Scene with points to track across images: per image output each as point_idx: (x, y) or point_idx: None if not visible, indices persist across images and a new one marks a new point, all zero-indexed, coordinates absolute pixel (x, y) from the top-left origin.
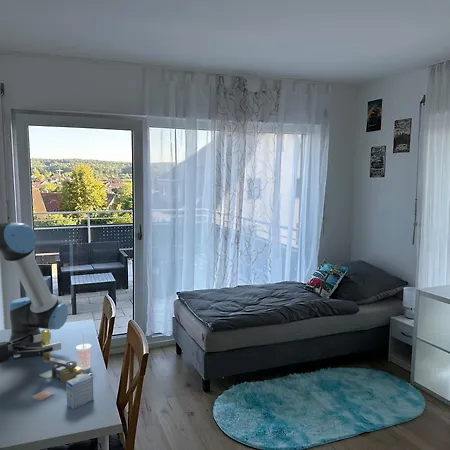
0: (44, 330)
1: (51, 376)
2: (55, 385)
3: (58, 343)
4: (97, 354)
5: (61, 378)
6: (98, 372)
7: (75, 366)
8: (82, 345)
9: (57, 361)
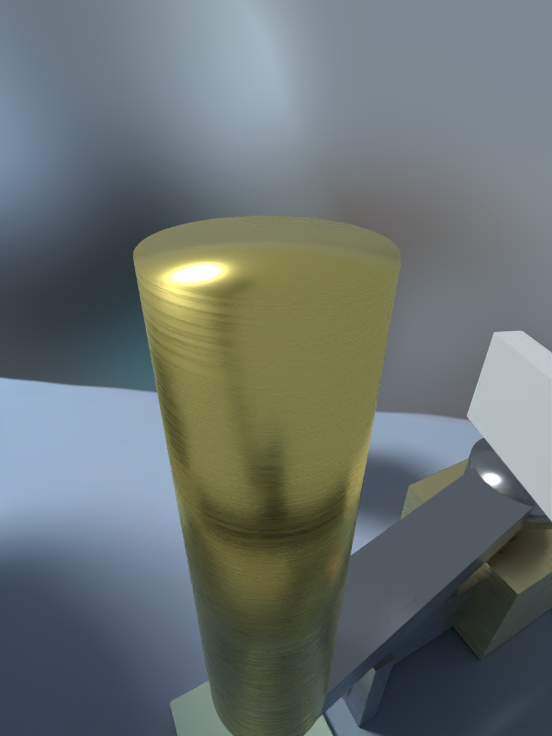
0: (198, 247)
1: (324, 721)
2: (529, 718)
3: (542, 355)
4: (143, 394)
5: (505, 628)
6: (378, 429)
7: None
8: None
9: (441, 561)
